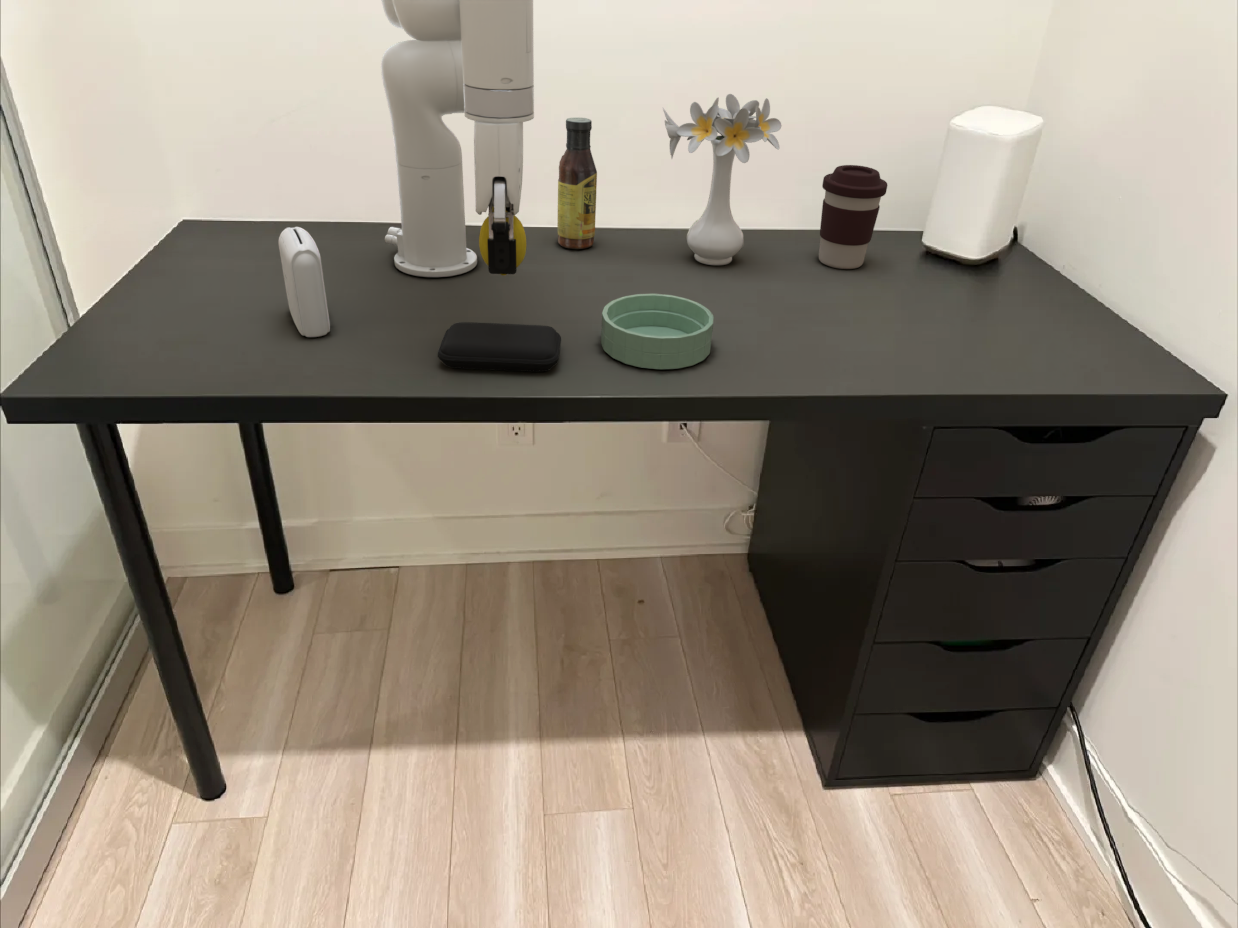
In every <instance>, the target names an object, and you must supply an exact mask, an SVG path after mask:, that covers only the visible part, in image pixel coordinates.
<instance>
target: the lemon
mask: <svg viewBox="0 0 1238 928" xmlns="http://www.w3.org/2000/svg"><path fill="white" fill-rule="evenodd" d="M506 212H507V211H506ZM506 222H508V223H509V218H506ZM513 226H514V239H516V268H519V267H520V265H521V264H522V263H523V261H524V260H525V256H526V253H527V236H526V231H525V228H524V225H523V223H522V221H521V220H520V219H519V217H517V216H516V215H514V217H513ZM478 236H479V237H478V246H479V252H480V256H481V259H482V260H483V262H484V263H485V264H486V266H488V242H487V240H488V239H489V216H487V217H485V219H484V221H483V222H482V224H481V227H480V231H479V235H478ZM507 275H508V274H500V276H503V277H504V276H507Z"/></svg>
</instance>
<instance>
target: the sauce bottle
mask: <svg viewBox="0 0 1238 928" xmlns="http://www.w3.org/2000/svg"><path fill="white" fill-rule="evenodd" d="M592 122H593V121H592V119H590V118H586V117H568V118H566V119H565V129H566V143H565V147H566V149H565V151H564V153H563V154H562V155H561V157H560V159H559V162H558V163H559V165H558V180H557V225H556V226H557V228H556V229H557V242H558V245H560V246H561V247H562V248H566V249H572V250H582V249H583V250H584V249H588V248H591V247H592V246H593V245H594V242H595V241H594V239H595V236H596V213H597V186H598V171H597V168H596V164H595V160H594V157H593V154H592V150H591V131H592V129H593V127H592Z"/></svg>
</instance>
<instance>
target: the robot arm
mask: <svg viewBox="0 0 1238 928" xmlns="http://www.w3.org/2000/svg"><path fill="white" fill-rule="evenodd" d="M381 4H382V8H383V12H384V15H385V17H386V19H387V21H388V22H389V23H390V24H391V25H392V26H394V27H395V28H397V29H401V30H403V31H404V32H405V33H406V34H407V36H409V37H411V38H412V39H407V40H401V41H398V42H396V43H394V44H392V45H390V46H389V47H388V48H386V50H385V51H384V53H383V54H382V57H381V60H380V74H381V80H382V86H383V88H384V94H385V97H386V102H387V106H388V111H389V116H390V122H391V129H392V136H393V137H392V138H393V145H394V157H395V168H396V178H397V191H398V201H399V212H400V213H399V215H400V223H401V228H400V227H395V226H390V227H389V228H388V230H387V233H386V235H385V236H384V243H385V244H387V245H393V246H394V245H395V246H397V252H396V254H395V255H394V256H393V260H394V261H393V262H394V266H395V268H396V269H397V270H399V272H402V273H404V274H407V275H410V276H414V277H420V278H448V277H454V276H455V277H456V276H459V275H462V274H466V273H468V272H471V271H472V270H473V269H475V267H477V265H478V255H477V253H476V252H475V251H473V250H472V249H470V248H468V247H467V234H466V233H467V231H466V229H467V228H466V211H465V210H466V208H465V186H464V169H463V151H462V146H461V143H460V141H459V139H458V137H457V136H456V134H455V133H454V132H453V131H452V129H451V128H450V127H449V126H448V125H447V124H446V123H445V121H444V120H443V117H444V116H446V115H452V114H464V117H465V118H466V119H467V120H470V121H474V123H473V125H474V126H473V161H474V164H473V165H474V191H475V192H474V195H475V196H474V197H475V212H476V214H478V215H479V216H481V215H483V213H487V211H488V214H487V215H488V216H489V239H488V240H487V242H488V265H487V267H488V268H487V269H488V273H489V274H490V275H501V274H507V275H515V274H517V268H518V267H517V268H516V239H514V226H513V217H514V215H515V216H516V215H517V214H519V212H520V205H521V198H522V190H523V189H522V188H523V173H524V123H526V122H529V121H532V120H534V118H535V93H534V92H535V86H534V85H535V83H534V82H535V81H534V80H535V79H534V78H535V77H534V75H535V73H534V72H535V71H534V65H535V64H534V0H381ZM506 211H507V212H506ZM488 216H487V217H488ZM506 218H509V223H508V222H506Z"/></svg>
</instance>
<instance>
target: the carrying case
mask: <svg viewBox="0 0 1238 928" xmlns="http://www.w3.org/2000/svg"><path fill="white" fill-rule="evenodd" d="M561 345H562V336H561V334H560V333H559V332H557V330H556V329H555V328H554V327H552V326H550V325H541V324H540V325H539V324H523V323H504V322H503V323H500V322H499V323H498V322H471V321H460V322H459V321H458V322H454V323H453V324H451V325H450V326H449V328H447V330H446V331H445V333H444V335H443V338H442V339H441V343H440V345H439V347H438V350H437V353H436V355H437V358H438V360H439V361H440V362H442V363H443V365H445V366H446V367H449V368H452V369H465V370H468V369H469V370H487V371H506V372H507V371H510V372H537V373H538V372H541V373H542V372H548V371H550V370H551V369H552V368H553V367H555V366H556V365H557V364H558V362H559V360H560V352H561Z"/></svg>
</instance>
